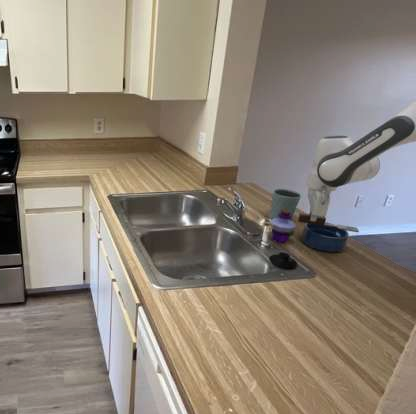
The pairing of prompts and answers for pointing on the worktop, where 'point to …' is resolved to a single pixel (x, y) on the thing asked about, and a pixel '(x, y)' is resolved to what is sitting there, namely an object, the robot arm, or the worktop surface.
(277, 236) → the potion bottle
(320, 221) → the fork
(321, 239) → the bowl
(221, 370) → the worktop surface
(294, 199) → the grey-green tapered cup
